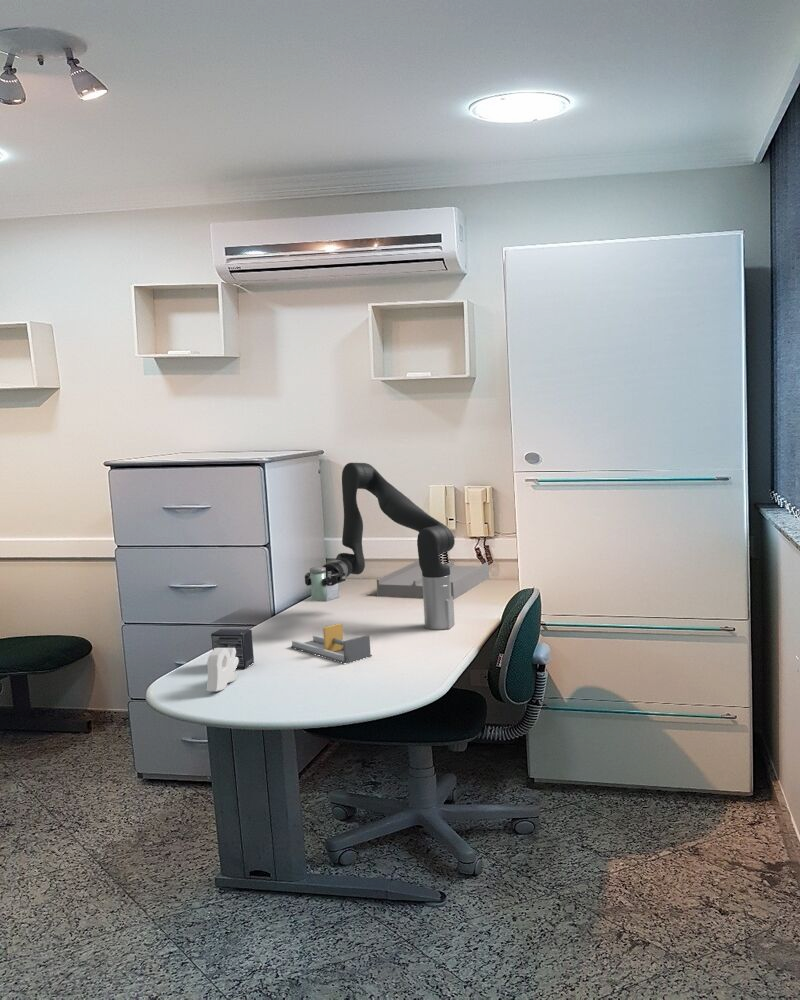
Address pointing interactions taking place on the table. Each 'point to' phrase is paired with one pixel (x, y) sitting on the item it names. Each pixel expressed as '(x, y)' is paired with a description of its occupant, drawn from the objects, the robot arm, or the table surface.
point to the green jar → (318, 583)
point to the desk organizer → (411, 584)
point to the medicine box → (332, 592)
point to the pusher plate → (333, 637)
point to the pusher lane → (350, 653)
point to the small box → (236, 644)
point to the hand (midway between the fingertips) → (315, 582)
